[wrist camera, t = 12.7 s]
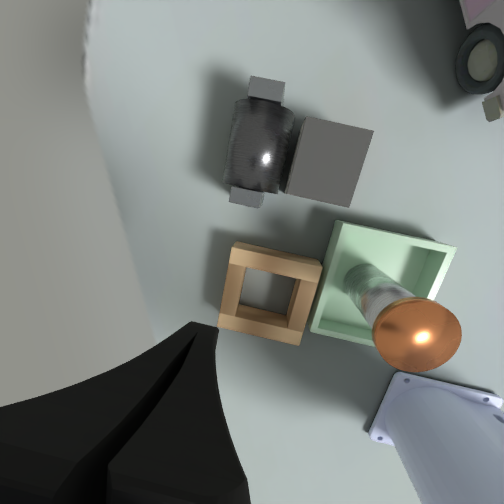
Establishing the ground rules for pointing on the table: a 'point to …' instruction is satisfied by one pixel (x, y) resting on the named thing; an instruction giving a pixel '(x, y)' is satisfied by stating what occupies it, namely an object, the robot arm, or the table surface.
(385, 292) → the pin
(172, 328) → the table surface
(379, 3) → the table surface
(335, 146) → the block
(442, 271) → the tray
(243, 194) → the trolley wheel
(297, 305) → the socket block
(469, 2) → the toy vehicle
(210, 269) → the table surface
